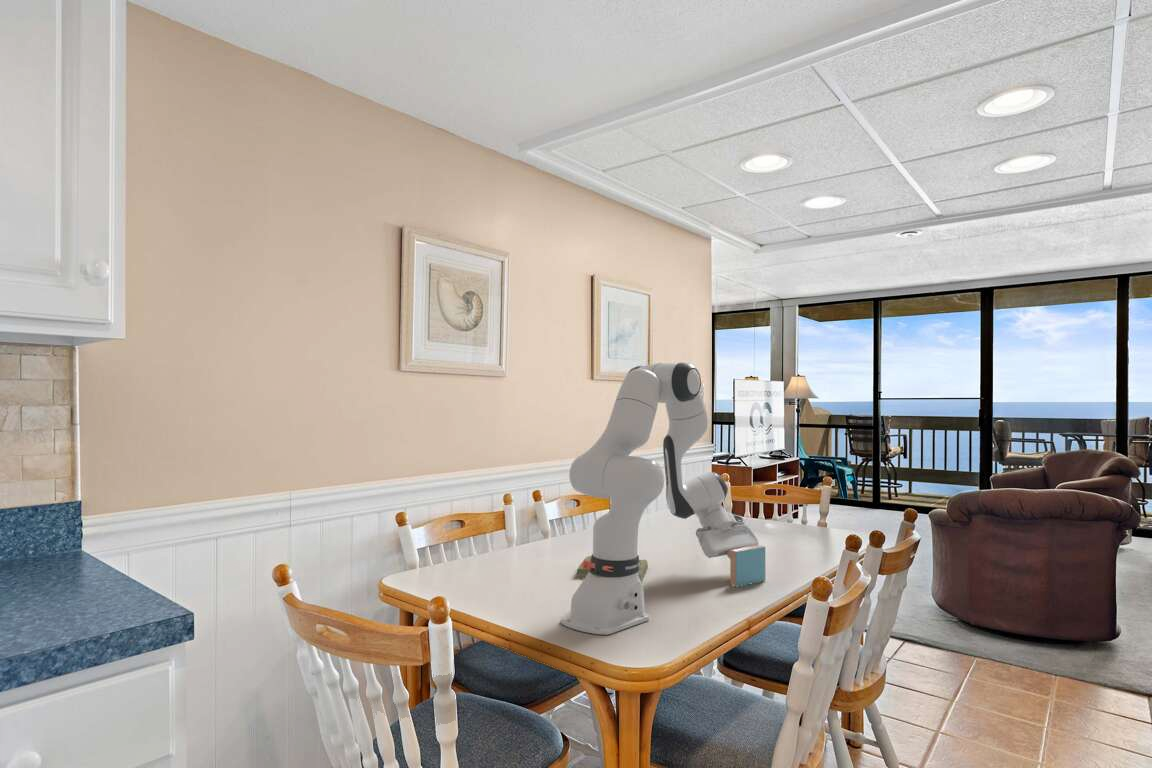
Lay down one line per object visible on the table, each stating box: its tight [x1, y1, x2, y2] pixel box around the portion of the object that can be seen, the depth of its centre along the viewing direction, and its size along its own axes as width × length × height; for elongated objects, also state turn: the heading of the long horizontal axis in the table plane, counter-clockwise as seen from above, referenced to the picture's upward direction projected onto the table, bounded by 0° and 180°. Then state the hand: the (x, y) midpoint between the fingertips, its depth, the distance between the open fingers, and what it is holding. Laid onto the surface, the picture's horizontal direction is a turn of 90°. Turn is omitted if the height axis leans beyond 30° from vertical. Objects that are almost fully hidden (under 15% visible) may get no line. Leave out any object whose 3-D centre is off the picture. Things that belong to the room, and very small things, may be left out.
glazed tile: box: [729, 544, 766, 587], centre depth 183 cm, size 12×2×10 cm, turn 123°
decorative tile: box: [575, 555, 649, 583], centre depth 193 cm, size 19×20×4 cm
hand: (742, 564), depth 185 cm, fingers closed
